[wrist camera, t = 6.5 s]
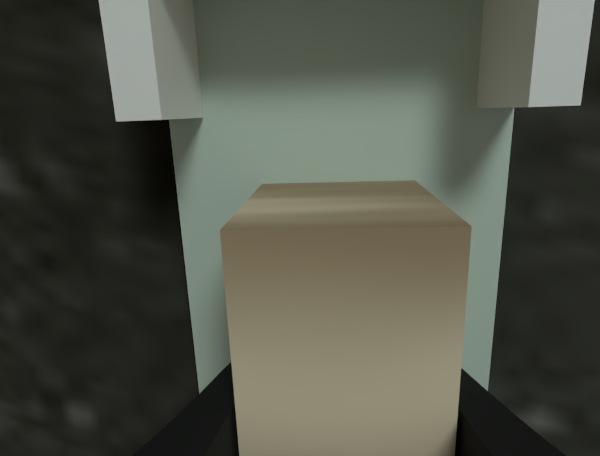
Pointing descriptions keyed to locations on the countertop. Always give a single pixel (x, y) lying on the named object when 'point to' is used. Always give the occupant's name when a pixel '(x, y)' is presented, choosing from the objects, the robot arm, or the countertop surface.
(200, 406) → the robot arm
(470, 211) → the endcap rail
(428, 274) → the tan rectangular block
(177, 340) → the countertop surface
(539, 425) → the countertop surface
